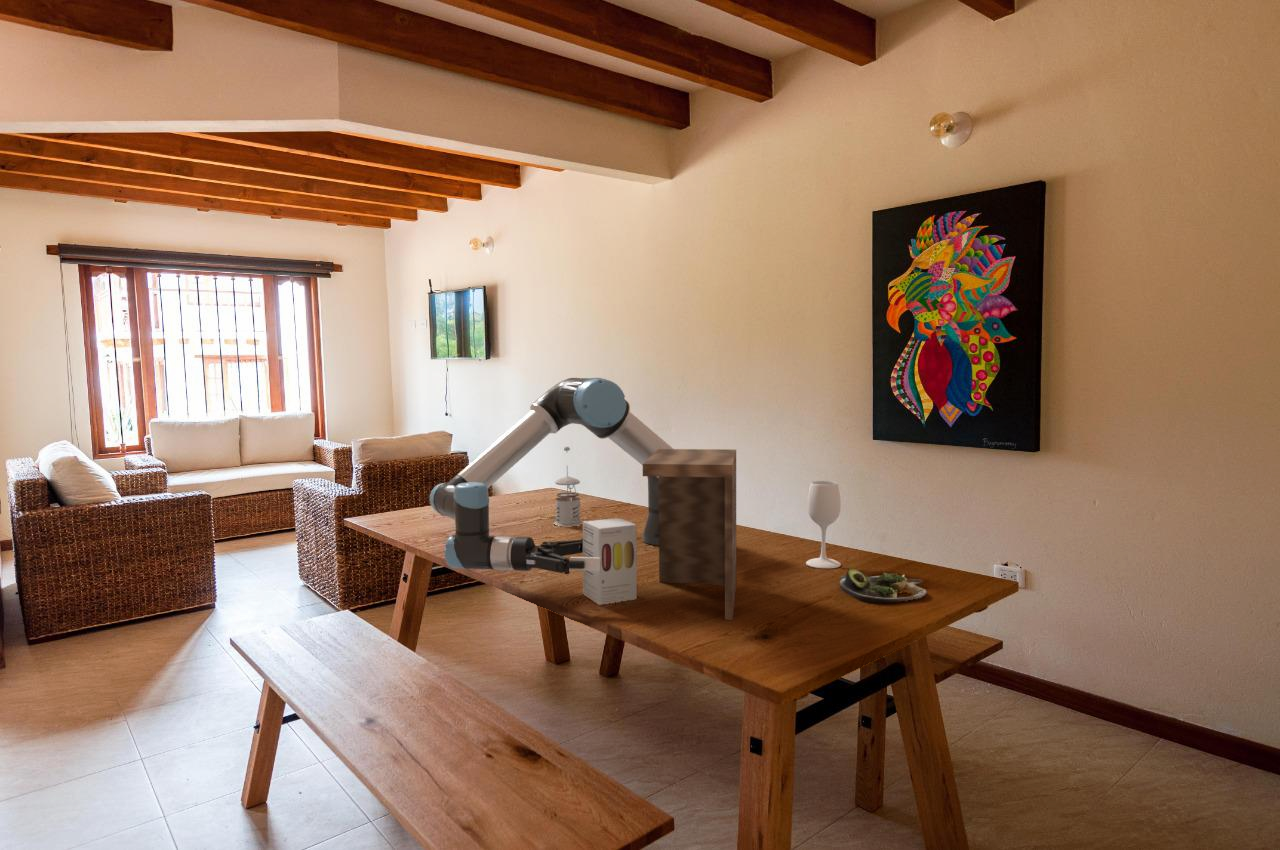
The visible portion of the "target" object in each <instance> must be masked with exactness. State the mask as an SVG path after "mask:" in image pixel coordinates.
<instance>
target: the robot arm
mask: <svg viewBox="0 0 1280 850" xmlns="http://www.w3.org/2000/svg"><path fill="white" fill-rule="evenodd" d="M570 424H571V425H572V424H576V425H581V426H583V427H585V428H586V429H587V430H588V431H590V432H591V433H592V434H594V436H596V437H597V438H599V439H600V440H601V439H602V440H603V439H609V440H611V441H612V442H613V443H615V445H617V446H618V447H620V448H621V450H623V451H624V452H625V453H627V454H628V455H629V456H630V457H631V458H633V459H634V460H636V461H637V462H638V463H639V464H640V465H642V466H643V463H644V462H645V461H646V460H647V459H649V458H650V457H651V456H652V455H653V454H654V453H655V452H656V451H657V450H658V449H674V448H673V447H672V446H671V445H669V444H668V443H667V442H666V441H665V440H664V439H662V437H661V436H659V435H658V434H657V433H656V432H654V431H653V430H652V429H651V428H650V427H649V426H648V425H646V424H645V423H644V422H643V421H641V420H640V419H639V418H638V416H636V415H634V414H633V413H632V412H631V406H630V402H628V400H626V395H625V393H624V392H623V390H622V388H621V387H620V386H619V385H618V384H617V383H615V382H614V381H611V380H609V379H606V378H602V377H591V378H590V377H589V378H588V377H584V378H583V377H579V378H578V377H570V378H566V379H563V380H561V381H559V382H558V383H556V384H555V385H553V386H552V387H550V388H549V389H548V390H547V391H545V392H544V393H543V394H542V395H541V396H539V398H537V399H535V401H534V402H533V403H532V404H530V409H529V412H527V413H526V414H525V415H524V416H523V417H522V418H520V419H519V420H518V421H517V422H516V423H515V424H513V425H512V426H511V427H510V428H509V429H508V430H507V431H505V432H504V433H503V434H502V435H501V436H499V438H497V440H495V441H494V442H493V443H492V444H490V445H489V446H488V447H487V448H486V449H485V450H484V451H483V452H482V453H481V454H479V455H478V456H477V457H476V458H475V459H473V460H472V461H471V462H470V463H469V464H468V465H467V466H466V467H464V468H463V469H462V470H461V471H460V472H459V473H457V474H456V475H455V476H454V477H452V479H450V480H449V481H448V482H441V483H438V484H436V485H435V486H434V487H433V489H432V490H431V492H430V494H429V504H430V506H431V508H432V509H433V510H434V511H435V512H437V514H440V515H441V516H443V517H447V518H450V519H452V520H454V523H455V530H454V531H455V534H454V535H450V536H449V537H448V538H447V539H446V542H445V546H444V547H445V549H444V559H445V563H446V564H447V565H448V567H450V568H453V569H460V570H461V569H463V570H493V571H495V570H496V571H497V570H499V571H500V573H504V572H505V571H512V570H514V571H519V572H524V571H525V572H528V571H529V572H530V571H531V570H532V569H539V570H544V571H548V572H549V571H550V572H554V573H557V574H558V573H560V574H564V575H569V574H570V571H583V570H584V571H601V558H597V557H583V556H570V555H576V554H577V555H579V554H583V537H581V539H573V540H572V539H570V540H560V541H559V540H558V541H543V542H542V543H541V544H540V545H536V544H535V542H534V541H535V540H534V539H533V538H532V537H531V536H516V537H514V536H511V535H509V536H507V535H506V536H505V535H490V509H489V507H490V497H489V490H488V489H490V487H491V486H492V485H494V484H495V483H496V482H497V481H498V480H499V479H500V478H502V477H503V476H504V474H506V473H507V472H508V471H509V470H510V469H511V468H513V467H514V466H515V465H516V464H517V463H518V462H519V461H520V460H521V459H522V458H524V457H525V456H526V455H527V454H528V453H530V452H531V451H532V450H533V449H534V448H535V447H536V446H537V445H538V444H540V443H541V442H542V441H543V440H544V439H545V438H547V436H549V435H550V434H557V432H559V431H560V430H562V429H563V428H565V427H567V426H568V425H570ZM646 477H647V496H648V497H647V499H648V501H647V504H648V505H647V506H648V508H647V509H648V510H647V511H648V512H647V513H648V514H647V517H646V521H645V525H644V527H643V531H642V542H643V543H645V544H649V545H653V546H658V547H659V487H658V476H646ZM565 556H570V557H565Z"/></svg>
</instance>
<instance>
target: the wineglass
mask: <svg viewBox="0 0 1280 850" xmlns="http://www.w3.org/2000/svg"><path fill="white" fill-rule="evenodd" d="M841 504H842V503H841V493H840V488H839V484H838V482H836V481H832V480H814V481H811V482H810V485H809V490H808V494H807V513H808V515H809V518H810V519H811V520H812V521H813V522H814V523H815V524H816V525H818V526H819V527H820V530H821V547H820V548H821V550H820V555H819V557H814V558H811V559H808V560H807V561H805V564H806V566H808V567H811V568H814V569H828V570H829V569H837V568H839V567H841V565H842V564H841V562H839V561H838V560H835V559H833V558H829V557H827V551H826V548H827V547H826V535H827V529H828V527H829V526H830V525H831V524H833V523H835V522H836V520H837V519H838V518H839V516H840V514H841Z"/></svg>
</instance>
